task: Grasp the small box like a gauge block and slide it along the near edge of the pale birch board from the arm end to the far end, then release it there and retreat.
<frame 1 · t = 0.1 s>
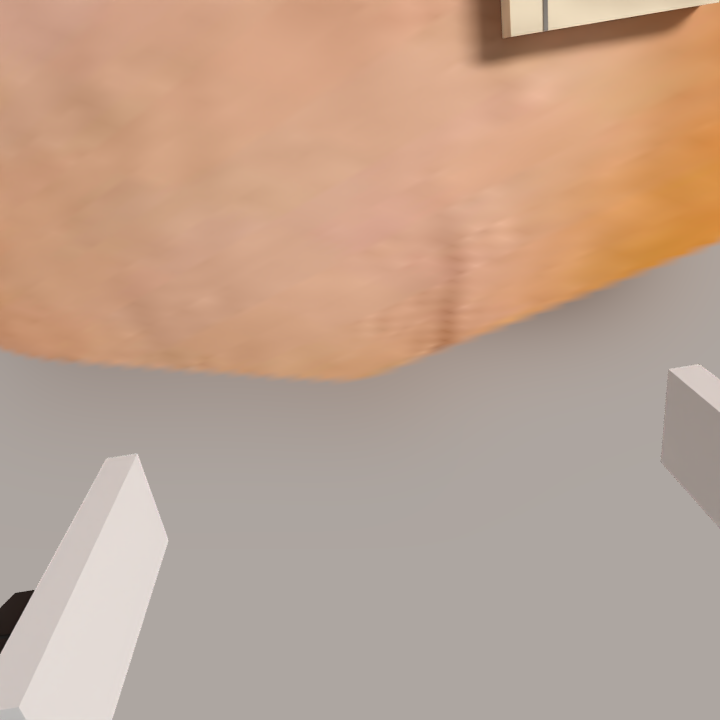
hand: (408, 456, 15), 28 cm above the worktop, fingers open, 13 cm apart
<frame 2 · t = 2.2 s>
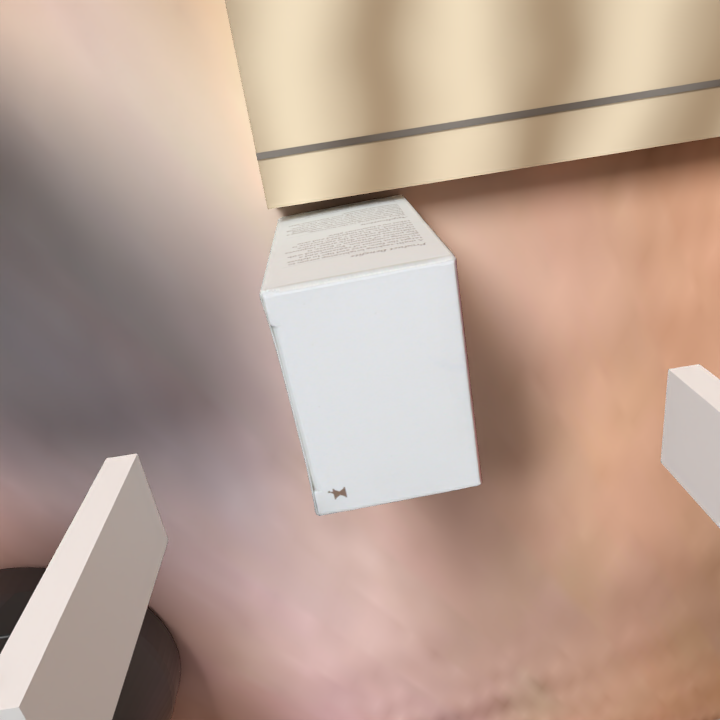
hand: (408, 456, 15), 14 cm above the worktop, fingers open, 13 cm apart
small box: (356, 288, 28), on the worktop
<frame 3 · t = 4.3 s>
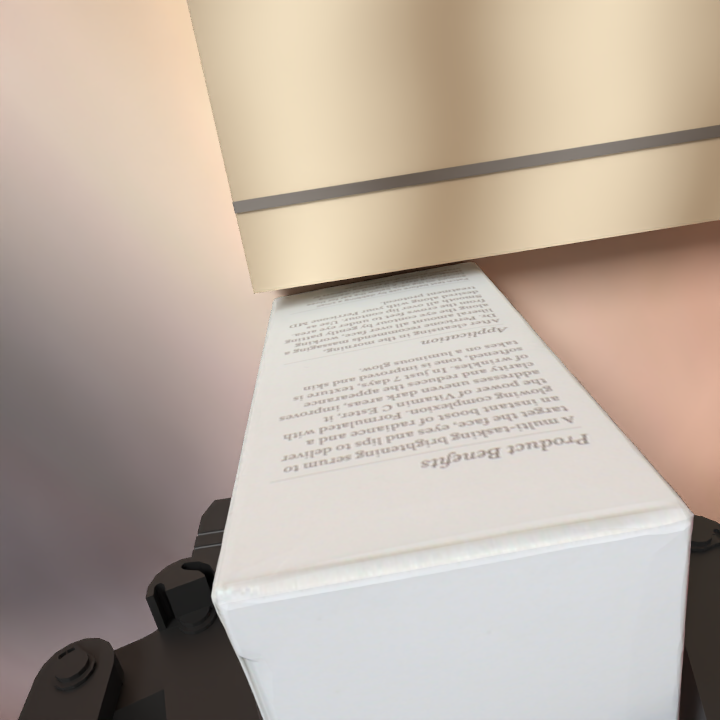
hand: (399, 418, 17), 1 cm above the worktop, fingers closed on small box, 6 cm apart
small box: (394, 399, 18), on the worktop, touching gripper
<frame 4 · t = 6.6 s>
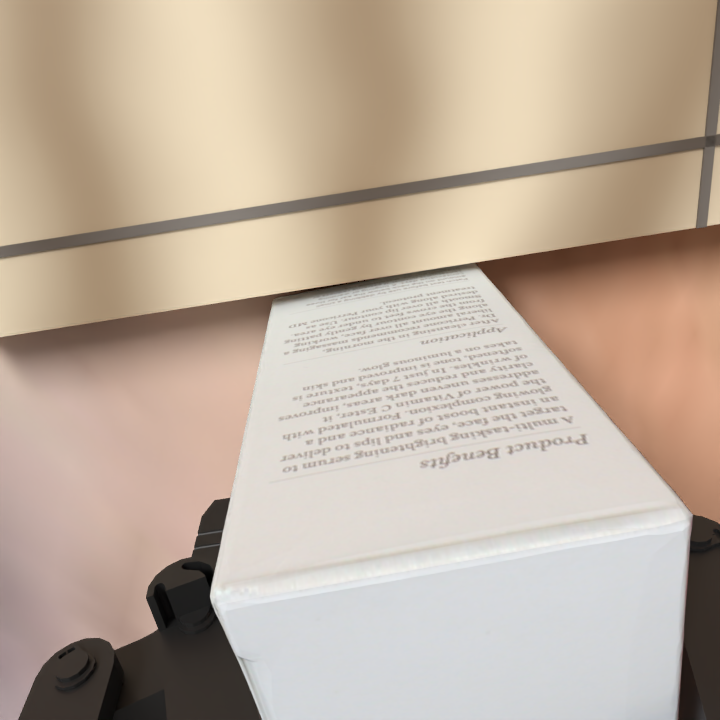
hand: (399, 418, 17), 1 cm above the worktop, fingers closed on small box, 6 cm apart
board: (334, 3, 14), on the worktop
small box: (393, 399, 18), on the worktop, touching gripper
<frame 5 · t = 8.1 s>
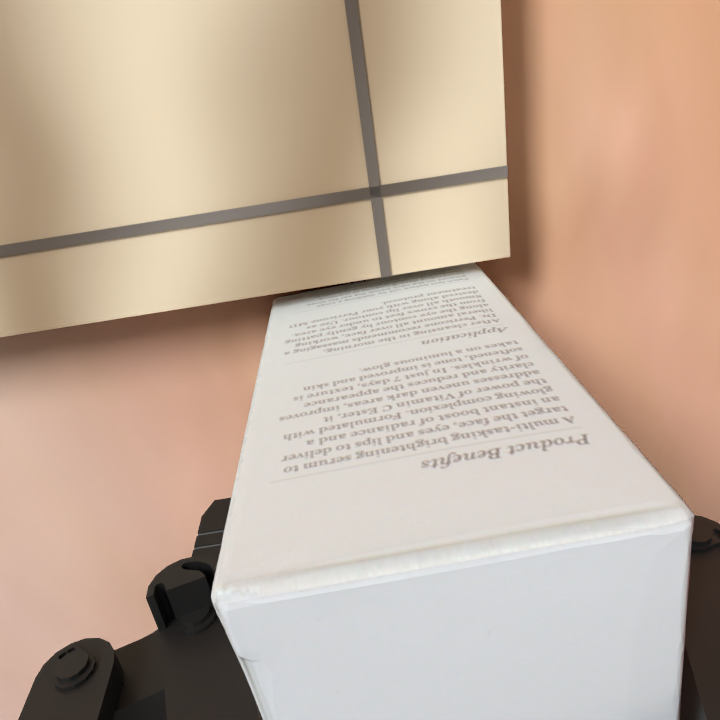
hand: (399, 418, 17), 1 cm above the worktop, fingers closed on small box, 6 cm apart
small box: (394, 399, 18), on the worktop, touching gripper
when the fingers open (1 cm above the worktop, at t = 9.1 s): small box stays where it is, on the worktop.
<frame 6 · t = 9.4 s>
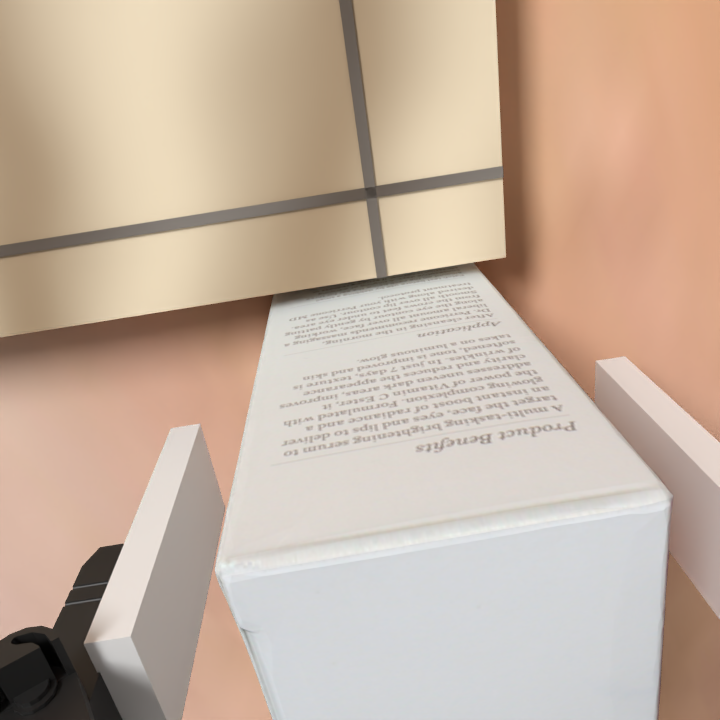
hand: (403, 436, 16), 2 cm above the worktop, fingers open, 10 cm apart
small box: (390, 394, 18), on the worktop
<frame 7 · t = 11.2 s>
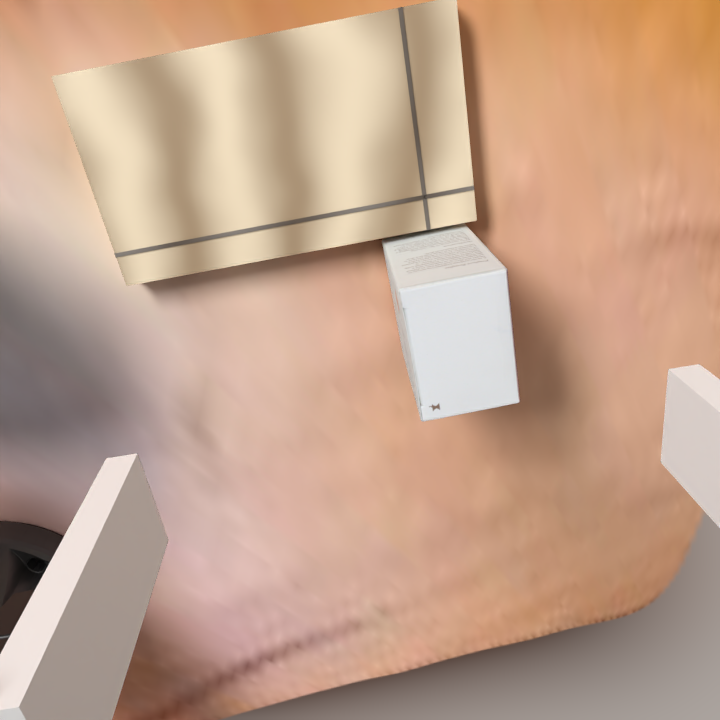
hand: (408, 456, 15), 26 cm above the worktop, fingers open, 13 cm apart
board: (280, 149, 37), on the worktop
small box: (430, 285, 41), on the worktop
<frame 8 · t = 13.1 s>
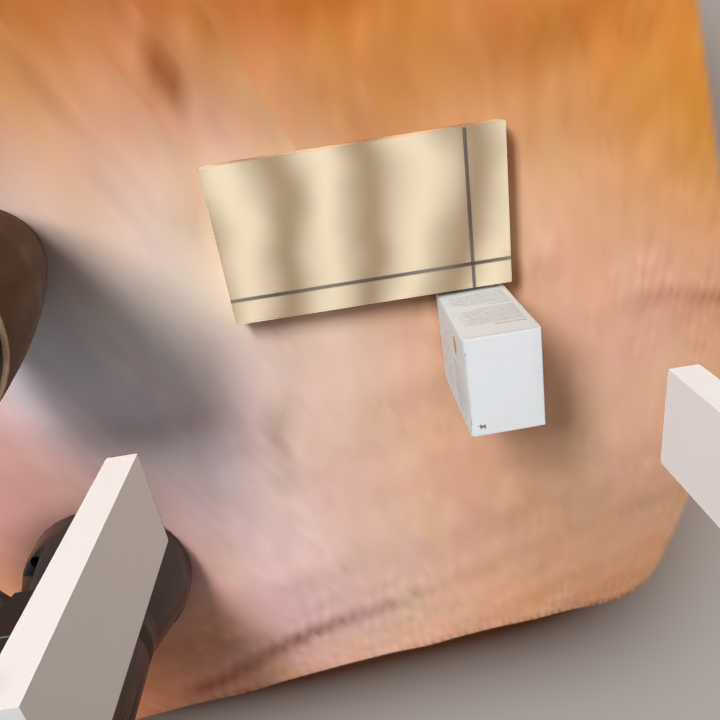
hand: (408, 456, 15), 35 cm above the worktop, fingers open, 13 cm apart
board: (362, 223, 48), on the worktop
small box: (470, 327, 52), on the worktop
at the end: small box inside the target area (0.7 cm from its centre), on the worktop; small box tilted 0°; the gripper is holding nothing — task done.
